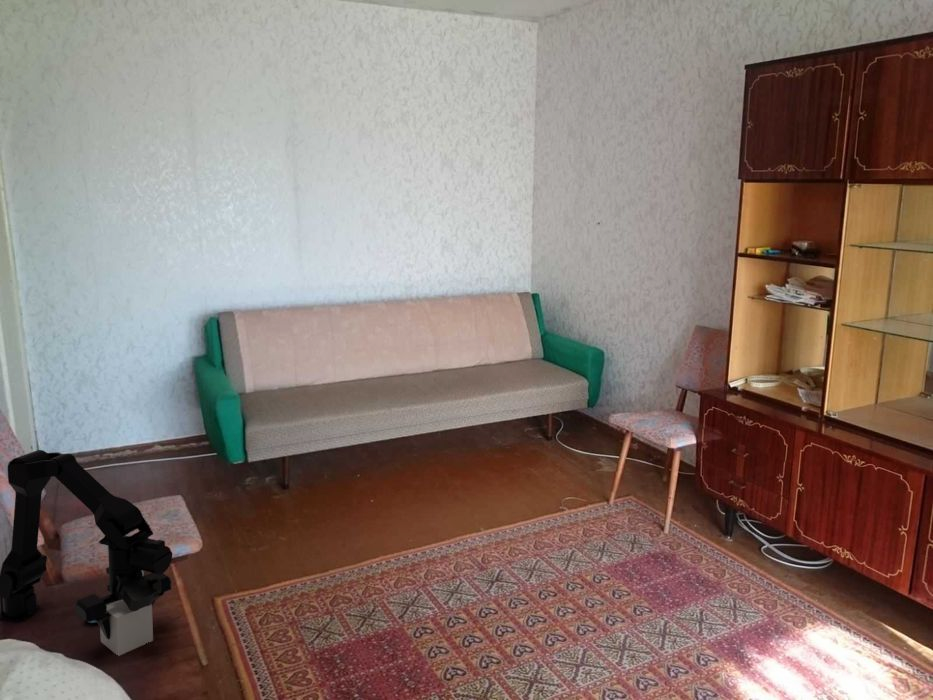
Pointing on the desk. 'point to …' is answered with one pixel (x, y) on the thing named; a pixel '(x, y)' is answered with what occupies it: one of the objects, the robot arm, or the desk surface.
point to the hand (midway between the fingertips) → (126, 630)
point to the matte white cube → (128, 628)
